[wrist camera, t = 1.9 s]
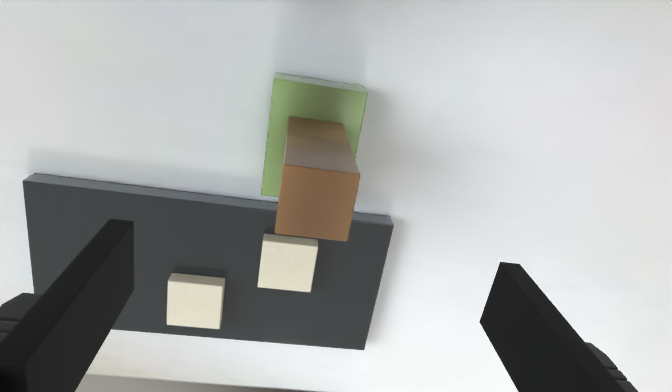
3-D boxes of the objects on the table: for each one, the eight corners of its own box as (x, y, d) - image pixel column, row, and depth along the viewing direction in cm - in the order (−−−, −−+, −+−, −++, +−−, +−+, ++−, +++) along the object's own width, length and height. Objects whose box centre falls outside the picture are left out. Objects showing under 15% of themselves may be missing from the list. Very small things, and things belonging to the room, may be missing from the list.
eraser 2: (258, 278, 35) (257, 287, 34) (264, 232, 34) (262, 240, 33) (310, 283, 36) (310, 292, 35) (317, 238, 34) (318, 247, 33)
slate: (46, 311, 37) (36, 323, 35) (33, 172, 32) (22, 180, 31) (361, 338, 40) (364, 350, 39) (390, 216, 36) (394, 225, 34)
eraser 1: (170, 315, 36) (166, 325, 35) (171, 272, 34) (167, 281, 33) (222, 319, 37) (219, 329, 35) (225, 277, 35) (223, 286, 34)
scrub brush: (263, 182, 34) (245, 270, 23) (275, 72, 31) (261, 112, 20) (343, 192, 35) (362, 282, 24) (363, 86, 31) (396, 132, 20)
